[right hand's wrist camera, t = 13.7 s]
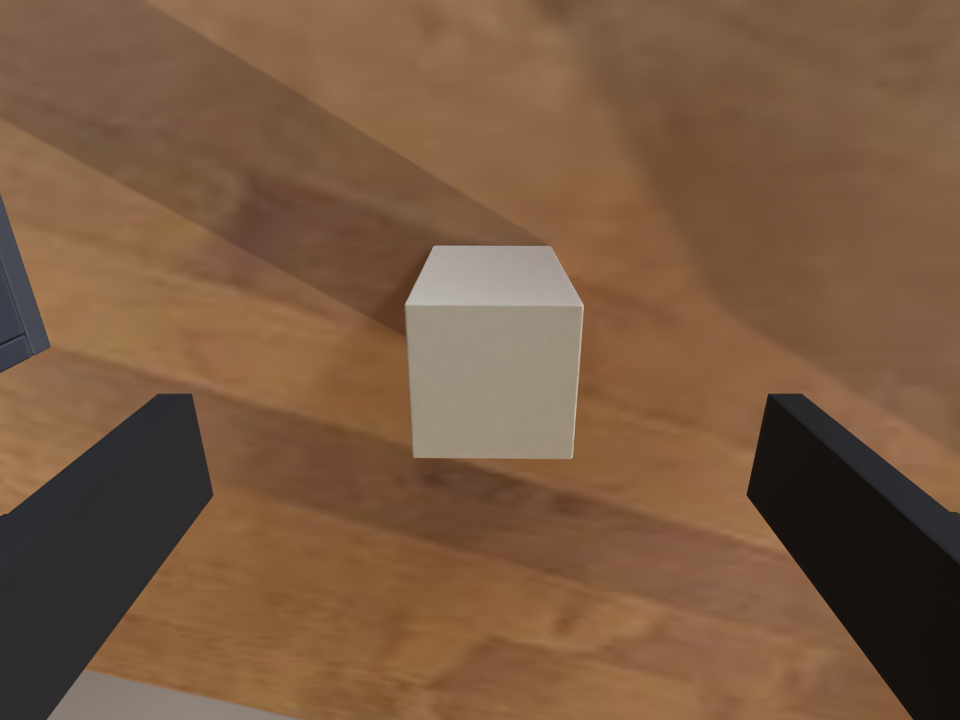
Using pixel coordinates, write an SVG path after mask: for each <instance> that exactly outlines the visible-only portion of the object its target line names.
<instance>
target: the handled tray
mask: <svg viewBox="0 0 960 720" xmlns="http://www.w3.org/2000/svg"><path fill="white" fill-rule="evenodd" d="M48 348H50V343H49V340H48V337H47V334H46V331H45V328H44V325H43V322H42V319H41V316H40V313H39V310H38V307H37V304H36V301H35V298H34V295H33V292H32V289H31V286H30V283H29V280H28V277H27V274H26V271H25V267H24V264H23V261H22V258H21V255H20V252H19V249H18V246H17V243H16V240H15V237H14V234H13V231H12V228H11V225H10V222H9V219H8V216H7V213H6V210H5V207H4V204H3V201H2V198H1V195H0V373H1V372H3V371H5V370H7V369H9V368H11V367H13V366H14V365H16V364H18V363H20V362H22V361H24V360H26V359H28V358H30V357H31V356H34V355H36V354H38V353H40V352H42V351H44V350H46V349H48Z"/></svg>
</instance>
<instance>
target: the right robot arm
mask: <svg viewBox="0 0 960 720" xmlns="http://www.w3.org/2000/svg"><path fill="white" fill-rule="evenodd" d="M212 496H213V491H212V486H211V481H210V477H209V472H208V467H207V463H206V458H205V453H204V449H203V444H202V439H201V435H200V430H199V425H198V421H197V416H196V411H195V407H194V402H193V397H192V394H157V395H156V396H155V397H154V398H152V399H151V400H150V401H149V402H147V403H146V404H145V405H144V406H142V407H141V408H140V409H139V410H137V411H136V412H135V413H134V414H132V415H131V416H130V417H129V418H127V419H126V420H125V421H124V422H122V423H121V424H120V425H119V426H117V427H116V428H115V429H114V430H112V431H111V432H110V433H109V434H107V435H106V436H105V437H104V438H102V439H101V440H100V441H98V442H97V443H96V444H95V445H93V446H92V447H91V448H90V449H88V450H87V451H86V452H85V453H83V454H82V455H81V456H80V457H78V458H77V459H76V460H75V461H73V462H72V463H71V464H70V465H68V466H67V467H66V468H65V469H63V470H62V471H61V472H60V473H58V474H57V475H56V476H55V477H53V478H52V479H51V480H50V481H48V482H47V483H46V484H45V485H43V486H42V487H41V488H40V489H38V490H37V491H36V492H35V493H33V494H32V495H31V496H30V497H28V498H27V499H26V500H25V501H23V502H22V503H21V504H20V505H18V506H17V507H16V508H15V509H13V510H12V511H11V512H10V513H8V514H4V515H2V516H0V720H47V718H48V717H49V716H50V714H51V713H52V712H53V710H54V709H55V708H56V706H57V705H58V704H59V702H60V701H61V699H62V698H63V697H64V695H65V694H66V693H67V691H68V690H69V689H70V687H71V686H72V685H73V683H74V682H75V681H76V679H77V678H78V677H79V675H80V674H81V673H82V671H83V670H84V669H85V667H86V666H87V665H88V663H89V662H90V661H91V659H92V658H93V657H94V655H95V654H96V652H97V651H98V650H99V648H100V647H101V646H102V644H103V643H104V642H105V640H106V639H107V638H108V636H109V635H110V634H111V632H112V631H113V630H114V628H115V627H116V626H117V624H118V623H119V622H120V620H121V619H122V618H123V616H124V615H125V613H126V612H127V611H128V609H129V608H130V607H131V605H132V604H133V603H134V601H135V600H136V599H137V597H138V596H139V595H140V593H141V592H142V591H143V589H144V588H145V587H146V585H147V584H148V583H149V581H150V580H151V579H152V577H153V576H154V574H155V573H156V572H157V570H158V569H159V568H160V566H161V565H162V564H163V562H164V561H165V560H166V558H167V557H168V556H169V554H170V553H171V552H172V550H173V549H174V548H175V546H176V545H177V544H178V542H179V541H180V540H181V538H182V537H183V535H184V534H185V533H186V531H187V530H188V529H189V527H190V526H191V525H192V523H193V522H194V521H195V519H196V518H197V517H198V515H199V514H200V513H201V511H202V510H203V509H204V507H205V506H206V505H207V503H208V502H209V501H210V499H211V498H212ZM747 496H748V498H749V499H750V501H751V502H752V503H753V505H754V506H755V507H756V509H757V510H758V511H759V513H760V514H761V515H762V517H763V518H764V519H765V521H766V522H767V523H768V525H769V526H770V527H771V529H772V530H773V531H774V533H775V534H776V535H777V537H778V538H779V540H780V541H781V542H782V544H783V545H784V546H785V548H786V549H787V550H788V552H789V553H790V554H791V556H792V557H793V558H794V560H795V561H796V562H797V564H798V565H799V566H800V568H801V569H802V570H803V572H804V573H805V574H806V576H807V577H808V579H809V580H810V581H811V583H812V584H813V585H814V587H815V588H816V589H817V591H818V592H819V593H820V595H821V596H822V597H823V599H824V600H825V601H826V603H827V604H828V605H829V607H830V608H831V609H832V611H833V612H834V613H835V615H836V616H837V618H838V619H839V620H840V622H841V623H842V624H843V626H844V627H845V628H846V630H847V631H848V632H849V634H850V635H851V636H852V638H853V639H854V640H855V642H856V643H857V644H858V646H859V647H860V648H861V650H862V651H863V652H864V654H865V655H866V657H867V658H868V659H869V661H870V662H871V663H872V665H873V666H874V667H875V669H876V670H877V671H878V673H879V674H880V675H881V677H882V678H883V679H884V681H885V682H886V683H887V685H888V686H889V687H890V689H891V690H892V691H893V693H894V694H895V696H896V697H897V698H898V700H899V701H900V702H901V704H902V705H903V706H904V708H905V709H906V710H907V712H908V713H909V714H910V716H911V717H912V718H913V720H960V514H959V513H957V512H949V511H948V510H947V509H945V508H944V507H943V506H942V505H940V504H939V503H938V502H937V501H935V500H934V499H933V498H932V497H930V496H929V495H928V494H927V493H925V492H924V491H923V490H922V489H920V488H919V487H918V486H917V485H915V484H914V483H913V482H912V481H910V480H909V479H908V478H907V477H905V476H904V475H903V474H902V473H900V472H899V471H898V470H897V469H895V468H894V467H893V466H892V465H890V464H889V463H888V462H887V461H885V460H884V459H883V458H882V457H880V456H879V455H878V454H877V453H875V452H874V451H873V450H872V449H870V448H869V447H868V446H867V445H865V444H864V443H863V442H862V441H860V440H859V439H858V438H856V437H855V436H854V435H853V434H851V433H850V432H849V431H848V430H846V429H845V428H844V427H843V426H841V425H840V424H839V423H838V422H836V421H835V420H834V419H833V418H831V417H830V416H829V415H828V414H826V413H825V412H824V411H823V410H821V409H820V408H819V407H818V406H816V405H815V404H814V403H813V402H811V401H810V400H809V399H808V398H806V397H805V396H804V395H803V394H768V397H767V402H766V407H765V411H764V416H763V421H762V425H761V430H760V435H759V439H758V444H757V449H756V453H755V458H754V463H753V467H752V472H751V477H750V481H749V486H748V491H747Z"/></svg>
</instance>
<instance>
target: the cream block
mask: <svg viewBox="0 0 960 720" xmlns="http://www.w3.org/2000/svg"><path fill="white" fill-rule="evenodd" d="M583 312H584V305H583V303H582V301H581V300H580V298H579V296H578V294H577V292H576V291H575V289H574V287H573V285H572V283H571V282H570V280H569V278H568V276H567V274H566V272H565V271H564V269H563V267H562V265H561V263H560V262H559V260H558V258H557V256H556V254H555V253H554V251H553V249H552V247H551V246H433V248H432V250H431V252H430V254H429V256H428V258H427V260H426V262H425V264H424V267H423V269H422V271H421V273H420V275H419V277H418V279H417V281H416V283H415V285H414V287H413V289H412V291H411V293H410V295H409V297H408V299H407V301H406V303H405V324H406V343H407V362H408V381H409V399H410V418H411V437H412V456H413V457H414V458H510V459H572V458H573V448H574V434H575V421H576V407H577V393H578V380H579V366H580V353H581V339H582V325H583Z"/></svg>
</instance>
